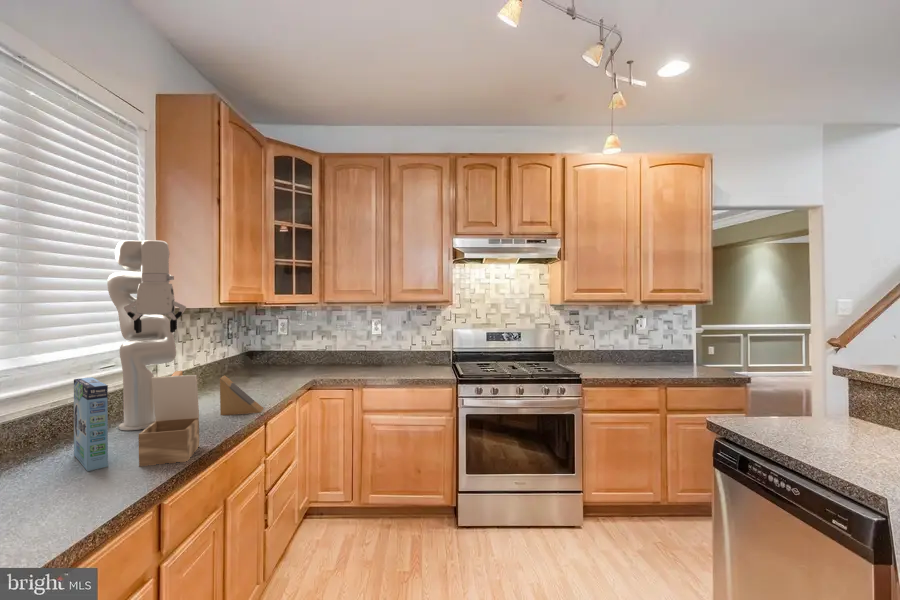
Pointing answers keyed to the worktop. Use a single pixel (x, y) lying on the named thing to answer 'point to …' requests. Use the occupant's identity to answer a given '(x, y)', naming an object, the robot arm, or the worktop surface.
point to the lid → (175, 397)
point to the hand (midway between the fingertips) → (155, 332)
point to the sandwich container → (235, 399)
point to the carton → (168, 441)
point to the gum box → (91, 423)
